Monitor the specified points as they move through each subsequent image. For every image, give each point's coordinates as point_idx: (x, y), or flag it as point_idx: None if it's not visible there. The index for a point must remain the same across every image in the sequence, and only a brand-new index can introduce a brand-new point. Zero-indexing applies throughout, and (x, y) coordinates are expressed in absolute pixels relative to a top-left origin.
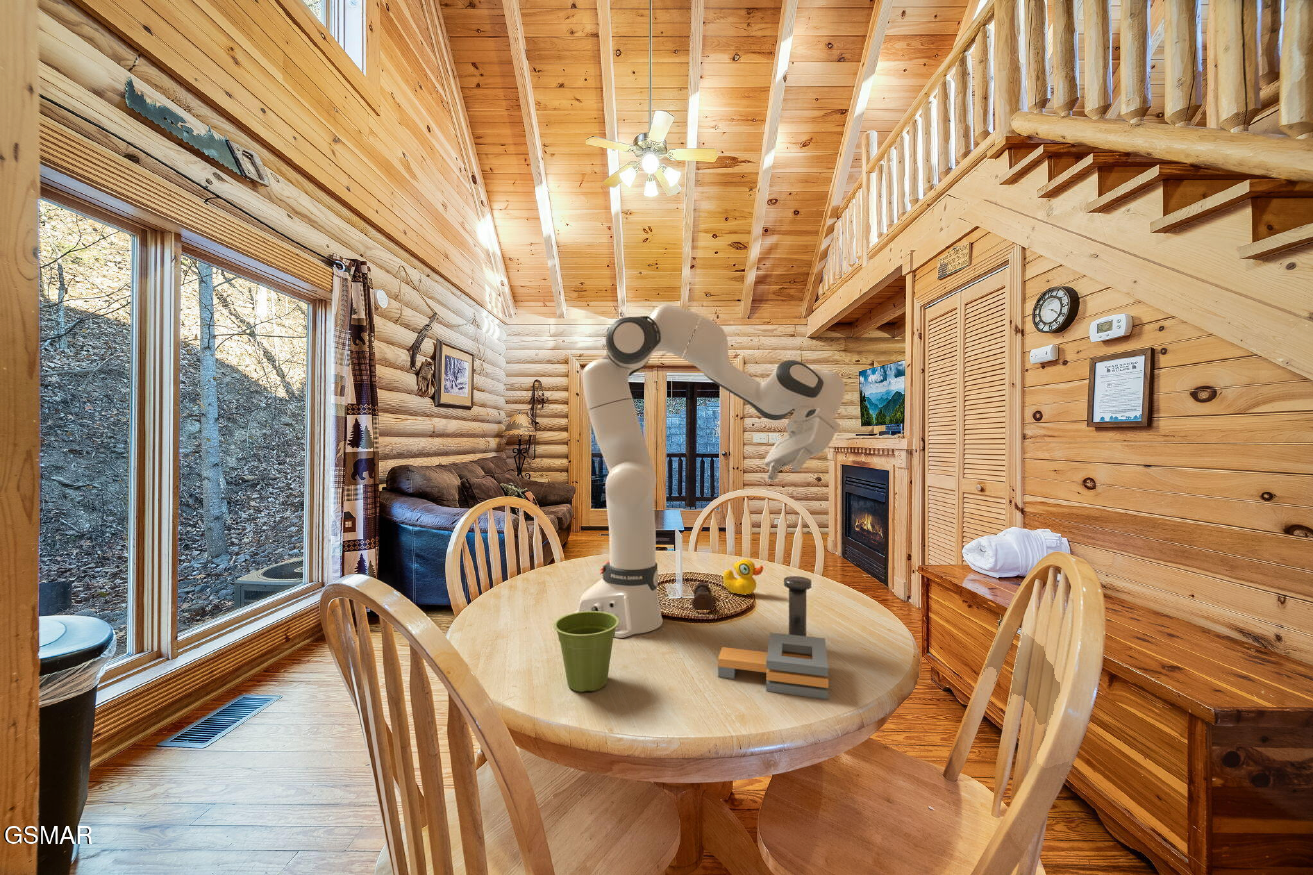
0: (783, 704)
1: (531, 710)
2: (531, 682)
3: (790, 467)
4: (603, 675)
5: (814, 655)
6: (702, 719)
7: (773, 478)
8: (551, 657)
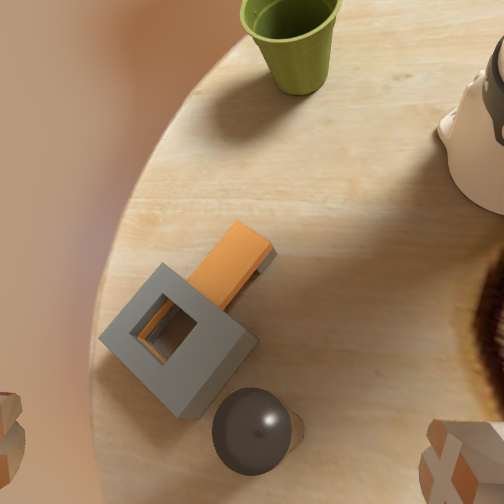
0: None
1: None
2: None
3: (16, 395)
4: (274, 78)
5: (136, 346)
6: (169, 179)
7: (422, 455)
8: (396, 36)
